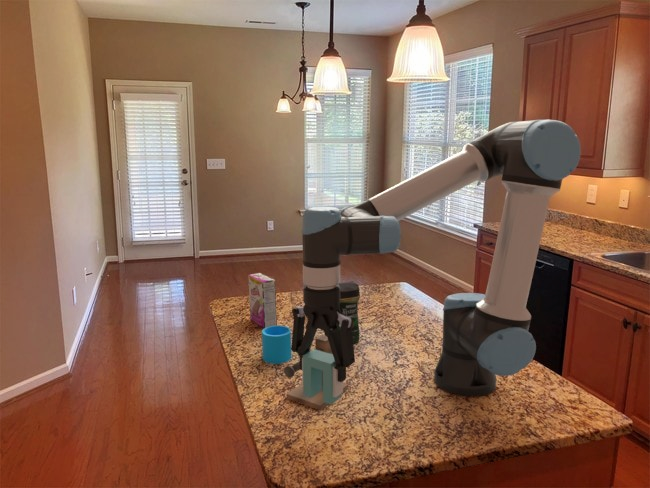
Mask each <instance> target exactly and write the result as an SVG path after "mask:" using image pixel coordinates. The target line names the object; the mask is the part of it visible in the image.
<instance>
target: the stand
mask: <svg viewBox="0 0 650 488" xmlns="http://www.w3.org/2000/svg"><path fill="white" fill-rule="evenodd" d="M315 350H319V351H323V352H326V353H330V354H332V350H331V347H330V344H329V341H328V337H327V336H326V335H325V334H321V335H319V336H318V337H315ZM298 371H301V370H300V360H299V361H298V362H296V363H294V364H293V365H287V366H284V368H283V373H284V375H285V377H286V378H288V379H291V378H293V377H294V376H295V375H296V373H297V372H298ZM348 390H349V384H347V383H345V382H343V393H345V392H346V391H348ZM343 393H341V395H343ZM285 397H286V399H287V400H290V401H293V402H295V403H299V404H301V405H304V406H307V407H310V408H313V409H315V410H318V411H322V410H323V409H324V408H325V407H327V406H328V405H329V404H327V403H324V402H323V371H322V391H320V392H319V393H317V394H316V395H315V396H313V397H312V398H310V397H307V396H304V395H303V387H302V383H300V384H299V385H297V386H296V387H295V388H293V389H291V390H290V391H289V392H287V393H286V396H285Z"/></svg>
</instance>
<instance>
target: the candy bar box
mask: <svg viewBox="0 0 650 488" xmlns="http://www.w3.org/2000/svg"><path fill="white" fill-rule="evenodd" d="M247 278H248V279H247V281H248V283H247V285H248V296H249V297H248V298H249V299H248V301H249V316H250V317H249V319H250V321H252V322H253V323H255V324H256V325H258V326H259V327H260V328H262V329H265V328H267V327H270V326H278V317H277V297H276V296H277V295H276V293H277V290H276V280H275V279H273V278H271V277H269V276H267V275H265V274H263V273H261V272H256V273H251V274H248V275H247Z"/></svg>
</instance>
